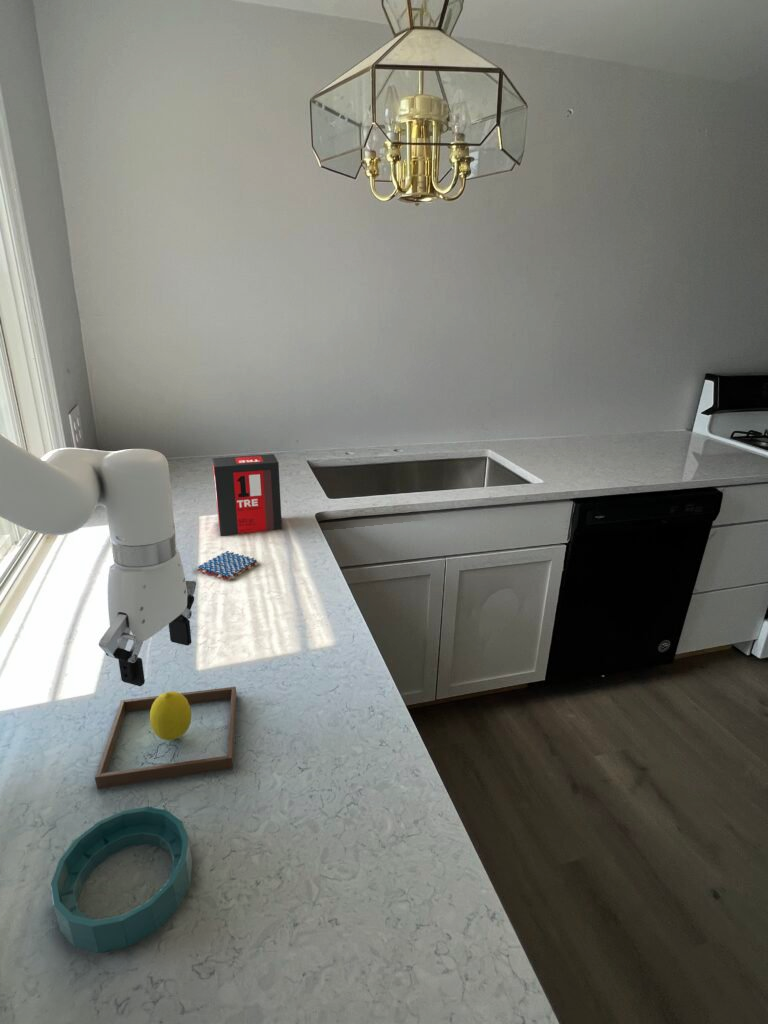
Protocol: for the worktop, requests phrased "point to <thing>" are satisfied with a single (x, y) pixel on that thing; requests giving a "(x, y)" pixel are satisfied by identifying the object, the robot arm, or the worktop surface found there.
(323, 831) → the worktop surface
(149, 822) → the teal ring
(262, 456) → the cleaning product box
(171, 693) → the lemon
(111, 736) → the brown wooden frame
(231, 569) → the woven mat
